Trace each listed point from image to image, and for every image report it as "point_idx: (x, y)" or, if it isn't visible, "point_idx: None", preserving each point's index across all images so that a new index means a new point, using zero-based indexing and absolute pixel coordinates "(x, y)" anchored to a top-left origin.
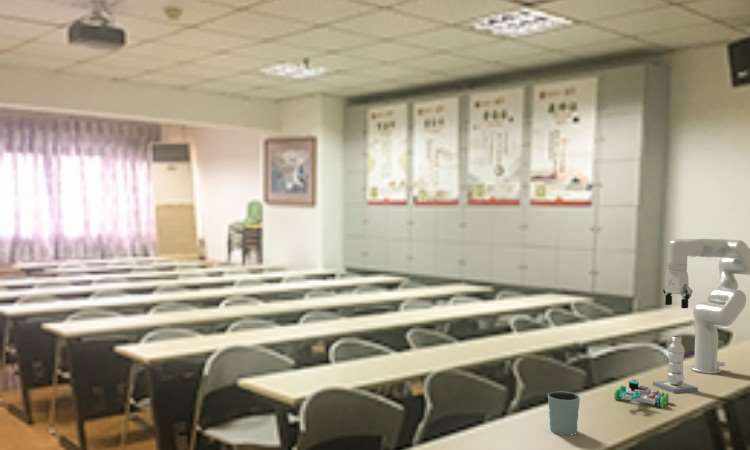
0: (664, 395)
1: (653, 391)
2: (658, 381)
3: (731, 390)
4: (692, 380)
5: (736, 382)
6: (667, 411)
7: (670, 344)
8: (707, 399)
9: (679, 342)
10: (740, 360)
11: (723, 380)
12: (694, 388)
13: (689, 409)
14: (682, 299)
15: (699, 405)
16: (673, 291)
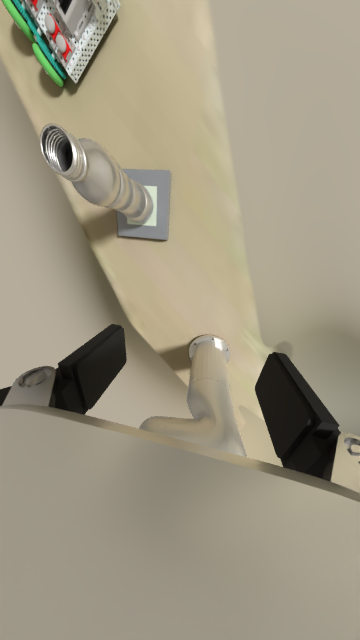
0: (34, 43)
1: (46, 14)
2: (167, 187)
3: (117, 292)
4: (174, 286)
5: (148, 333)
6: (4, 16)
7: (89, 144)
8: (80, 207)
9: (61, 161)
10: None
11: (161, 328)
12: (118, 227)
13: (24, 103)
14: (60, 363)
15: None
16: (92, 477)
